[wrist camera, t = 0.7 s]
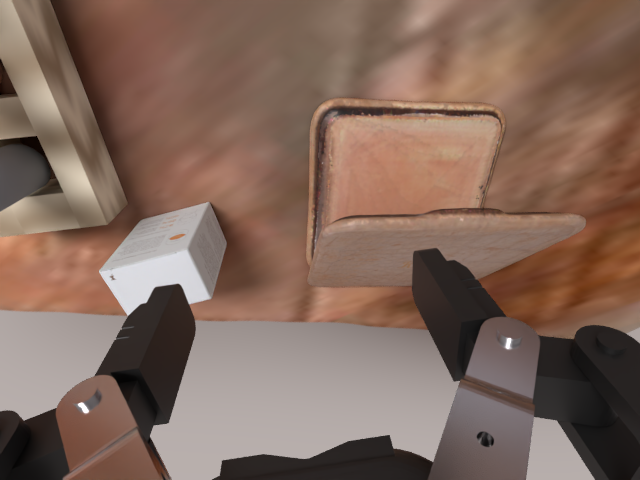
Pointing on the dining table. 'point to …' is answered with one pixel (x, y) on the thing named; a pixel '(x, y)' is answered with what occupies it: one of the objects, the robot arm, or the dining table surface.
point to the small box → (168, 257)
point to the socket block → (52, 126)
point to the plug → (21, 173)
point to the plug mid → (1, 73)
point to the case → (411, 193)
